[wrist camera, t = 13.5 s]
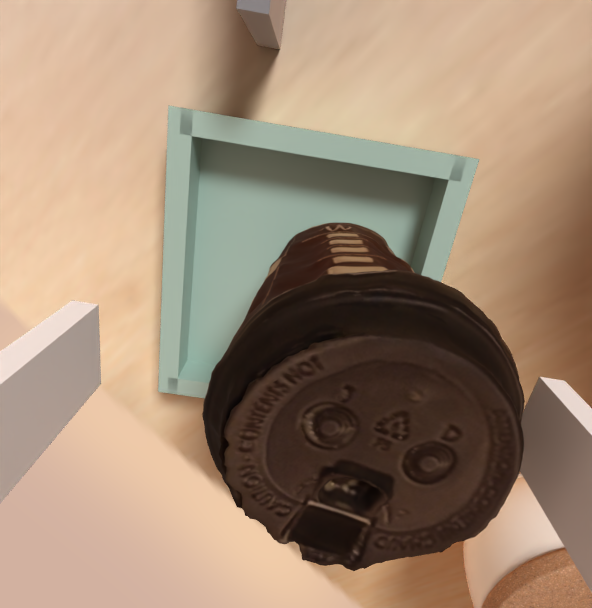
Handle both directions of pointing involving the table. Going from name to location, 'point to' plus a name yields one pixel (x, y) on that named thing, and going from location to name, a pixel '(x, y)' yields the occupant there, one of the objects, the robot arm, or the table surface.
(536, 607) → the lidded jar
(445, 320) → the coffee cup
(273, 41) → the bay
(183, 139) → the tray
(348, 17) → the table surface
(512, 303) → the table surface
